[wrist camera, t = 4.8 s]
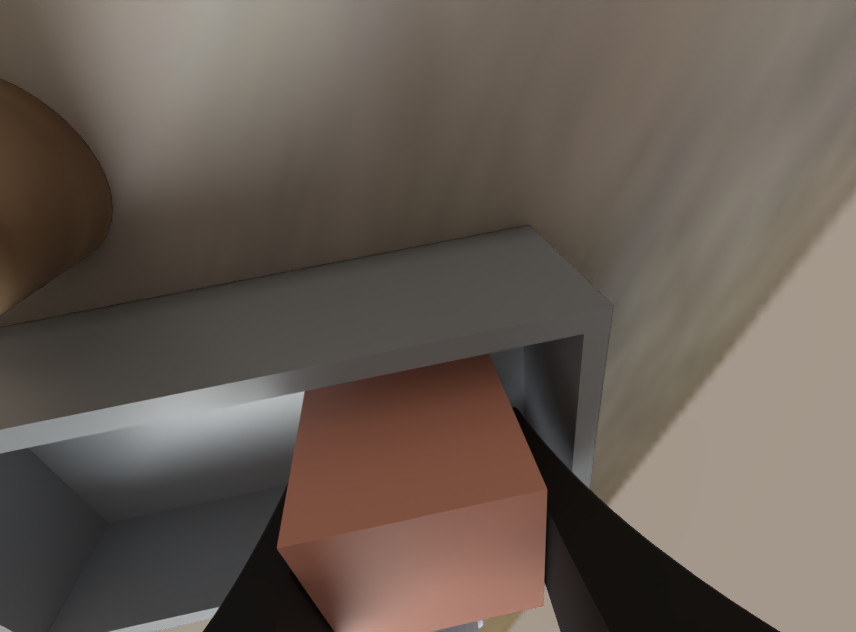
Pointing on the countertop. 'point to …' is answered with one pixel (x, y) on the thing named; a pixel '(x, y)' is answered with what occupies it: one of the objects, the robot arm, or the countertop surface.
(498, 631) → the countertop surface
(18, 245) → the cylinder
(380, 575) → the cube
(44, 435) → the box
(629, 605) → the robot arm
